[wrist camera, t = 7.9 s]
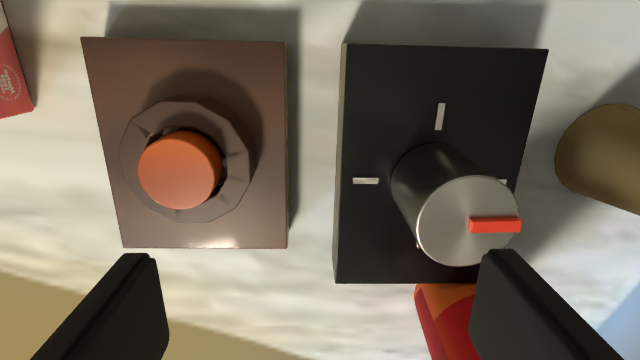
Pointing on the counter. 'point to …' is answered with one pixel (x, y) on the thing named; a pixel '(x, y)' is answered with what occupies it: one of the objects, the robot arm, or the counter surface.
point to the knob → (453, 205)
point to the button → (180, 169)
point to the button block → (201, 117)
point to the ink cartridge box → (11, 76)
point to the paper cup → (446, 319)
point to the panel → (420, 143)
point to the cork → (603, 156)
